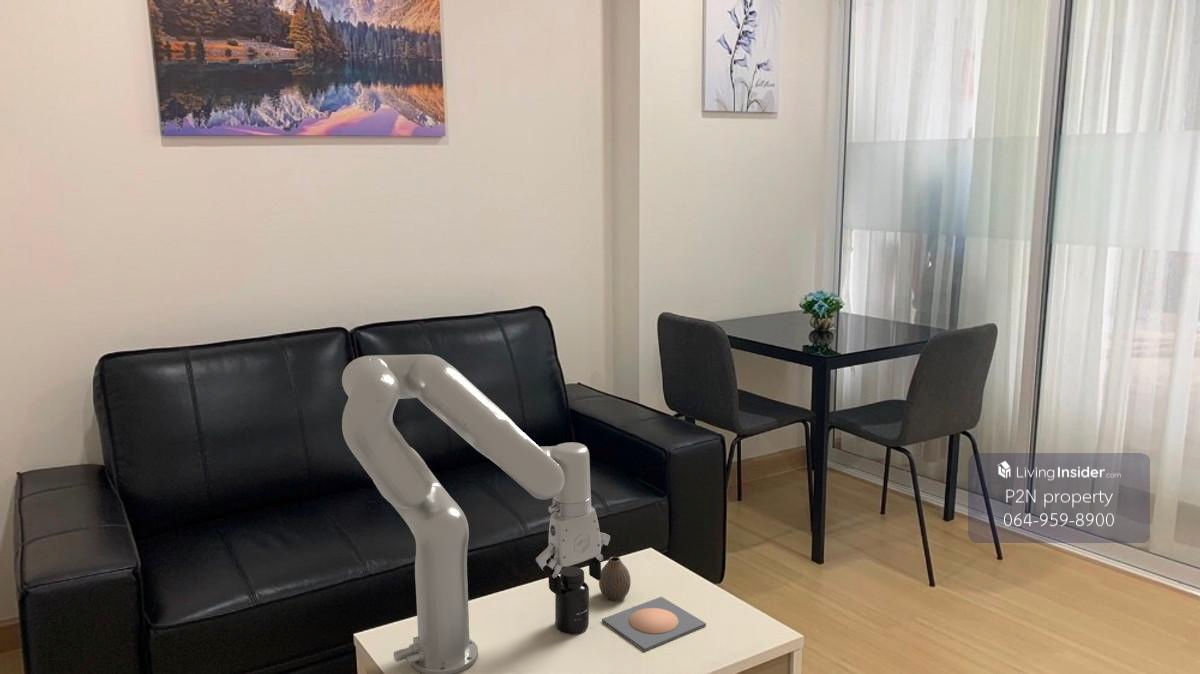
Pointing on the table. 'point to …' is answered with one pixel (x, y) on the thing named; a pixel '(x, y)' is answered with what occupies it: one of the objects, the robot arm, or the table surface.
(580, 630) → the supplement bottle
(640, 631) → the mat
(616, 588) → the vase
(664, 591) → the table surface
